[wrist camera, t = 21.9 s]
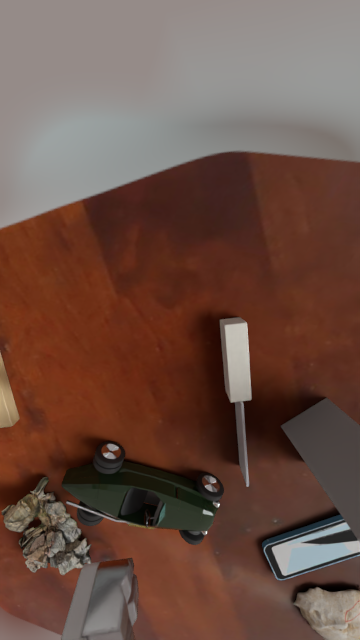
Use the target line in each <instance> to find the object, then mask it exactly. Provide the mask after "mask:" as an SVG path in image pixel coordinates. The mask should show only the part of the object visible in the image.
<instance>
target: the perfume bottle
mask: <svg viewBox="0 0 360 640" xmlns="http://www.w3.org/2000/svg"><path fill="white" fill-rule="evenodd" d="M281 428H282V429H283V430H284V432H285V433H286V435H287V436H288V438H289V439H290V441H291V442H292V444H293V445H294V447H295V448H296V450H297V451H298V452H299V454H300V455H301V457H302V458H303V460H304V461H305V463H306V464H307V466H308V467H309V469H310V470H311V472H312V473H313V474H314V476H315V477H316V479H317V480H318V482H319V483H320V485H321V486H322V488H323V489H324V491H325V492H326V494H327V495H328V496H329V498H330V499H331V501H332V502H333V504H334V505H335V507H336V508H337V510H338V511H339V513H340V514H341V516H342V517H343V518H344V520H345V521H346V523H347V524H348V526H349V527H350V529H351V530H352V532H353V533H354V535H355V536H356V538H357V539H358V540H359V542H360V425H358V424H357V423H356V422H355V421H354V420H352V419H351V418H350V417H349V416H348V415H347V414H345V413H344V412H343V411H342V410H341V409H339V408H338V407H337V406H336V405H335V404H334V403H332V402H331V401H330V400H329V399H328V398H325V399H324V400H322V401H320V402H319V403H317V404H316V405H314V406H312V407H311V408H309V409H307V410H306V411H304V412H302V413H301V414H299V415H298V416H296V417H294V418H293V419H291V420H289V421H288V422H286V423H284V424H283V425H281Z"/></svg>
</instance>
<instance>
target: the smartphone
mask: <svg viewBox="0 0 360 640" xmlns="http://www.w3.org/2000/svg"><path fill="white" fill-rule="evenodd" d="M262 547H263V551H264V553H265V555H266V557H267V560H268V562H269V564H270V566H271V568H272V571H273V573H274V575H275V577H276V578H277V579H278V580H286V579H289V578H292V577H295V576H298V575H301V574H304V573H307V572H310V571H313V570H316V569H320V568H323V567H326V566H329V565H332V564H335V563H338V562H341V561H344V560H347V559H350V558H354V557H357V556H360V542H359V540H358V539H357V538H356V536H355V535H354V533H353V532H352V530H351V529H350V527H349V526H348V524H347V523H346V521H345V520H344V518H343V517H342V516H341V514H340V515H337V516H334V517H331V518H328V519H326V520H323V521H320V522H317V523H314V524H311V525H308V526H305V527H302V528H299V529H296V530H293V531H290V532H287V533H284V534H281V535H278V536H275V537H272V538H269V539H266V540H265V541H264V542H263V543H262Z"/></svg>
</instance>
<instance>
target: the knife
mask: <svg viewBox="0 0 360 640" xmlns="http://www.w3.org/2000/svg"><path fill="white" fill-rule="evenodd" d="M220 332H221V344H222V356H223V368H224V380H225V391H226V393H227V395H228V398H229V400H230V402H231V403H232V402H235V411H236V424H237V438H238V451H239V464H240V468H241V471H242V474H243V477H244V480H245V483H246V486H249V477H248V462H247V448H246V433H245V418H244V404H243V402H242V401H249V400H252V397H251V380H250V364H249V347H248V330H247V322H246V321H244V320H243V319H242V318H240V317H237V318H229V319H221V320H220Z"/></svg>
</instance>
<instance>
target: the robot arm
mask: <svg viewBox="0 0 360 640" xmlns="http://www.w3.org/2000/svg"><path fill="white" fill-rule="evenodd" d="M133 570H134V563H133V560H132V558H127V559H120V560H113V561H106V562H96V563H90V564H84V566H83V568H82V570H81V572H80V575H79V578H78V582H77V585H76V589H75V592H74V596H73V599H72V603H71V606H70V610H69V613H68V617H67V620H66V624H65V627H64V631H63V634H62V638H61V640H135V636H134V632H133V627H132V626H133V624H134V622H135V620H136V619H137V614H138V581H137V576H136V575H135V574H134V573H133Z"/></svg>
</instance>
